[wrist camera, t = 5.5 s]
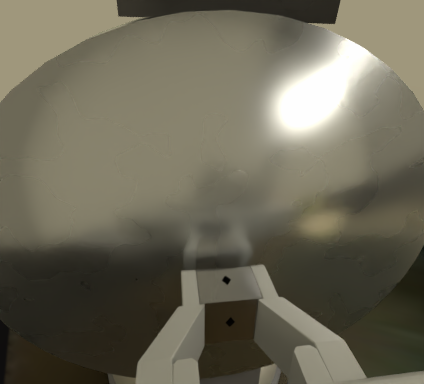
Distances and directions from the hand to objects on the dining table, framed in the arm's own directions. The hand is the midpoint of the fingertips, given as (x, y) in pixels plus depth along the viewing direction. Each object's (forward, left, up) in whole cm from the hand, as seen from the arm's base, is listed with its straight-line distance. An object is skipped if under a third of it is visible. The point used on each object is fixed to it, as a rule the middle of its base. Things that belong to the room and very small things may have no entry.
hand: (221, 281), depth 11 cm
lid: (-1, -2, +1) cm, 2 cm away
